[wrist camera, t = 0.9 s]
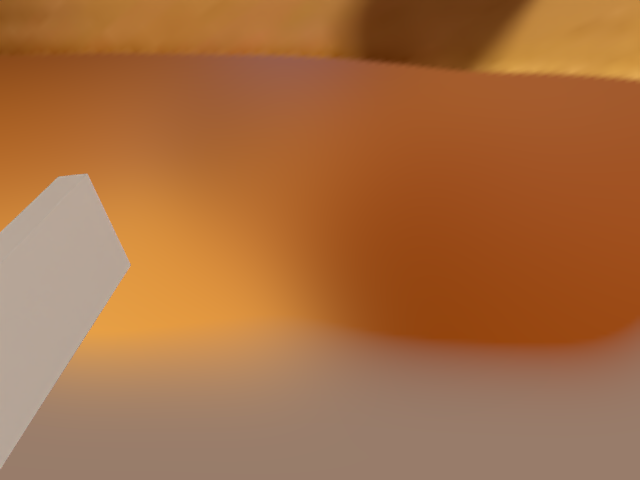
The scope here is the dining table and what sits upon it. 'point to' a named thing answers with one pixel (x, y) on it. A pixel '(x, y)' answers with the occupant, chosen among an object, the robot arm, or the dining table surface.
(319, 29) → the dining table surface
